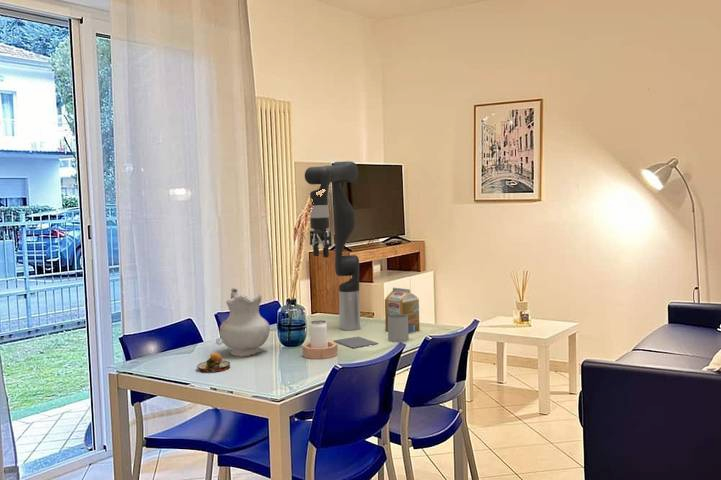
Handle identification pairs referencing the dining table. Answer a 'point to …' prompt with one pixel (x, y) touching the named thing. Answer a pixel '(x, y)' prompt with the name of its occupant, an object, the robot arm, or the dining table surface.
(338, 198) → the robot arm
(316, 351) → the bowl
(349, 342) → the mat
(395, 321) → the cup
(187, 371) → the dining table surface
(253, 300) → the ceramic pitcher
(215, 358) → the plate of food
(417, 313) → the milk carton
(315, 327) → the can
